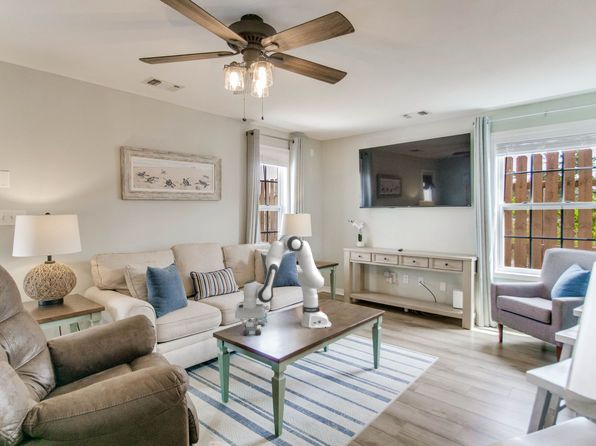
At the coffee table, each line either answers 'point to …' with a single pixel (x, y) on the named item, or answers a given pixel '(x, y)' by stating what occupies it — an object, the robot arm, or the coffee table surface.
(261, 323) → the toy figure
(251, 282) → the robot arm
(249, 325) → the cube with round knob
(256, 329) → the chassis
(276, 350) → the coffee table surface
